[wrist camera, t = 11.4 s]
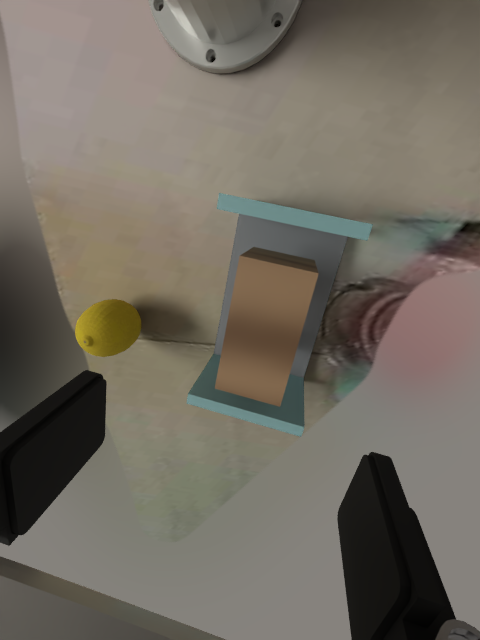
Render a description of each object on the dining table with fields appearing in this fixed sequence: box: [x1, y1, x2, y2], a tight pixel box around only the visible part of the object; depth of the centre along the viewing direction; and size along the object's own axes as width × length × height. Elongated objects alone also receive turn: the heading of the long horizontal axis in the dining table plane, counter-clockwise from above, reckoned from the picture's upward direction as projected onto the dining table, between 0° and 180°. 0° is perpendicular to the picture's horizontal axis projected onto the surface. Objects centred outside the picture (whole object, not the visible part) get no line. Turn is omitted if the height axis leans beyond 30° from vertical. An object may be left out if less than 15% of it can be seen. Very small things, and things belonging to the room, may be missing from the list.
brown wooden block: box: [215, 247, 319, 407], centre depth 23 cm, size 10×5×6 cm, turn 168°
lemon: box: [75, 299, 141, 357], centre depth 31 cm, size 6×6×8 cm
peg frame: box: [187, 193, 373, 437], centre depth 26 cm, size 17×10×9 cm, turn 168°
